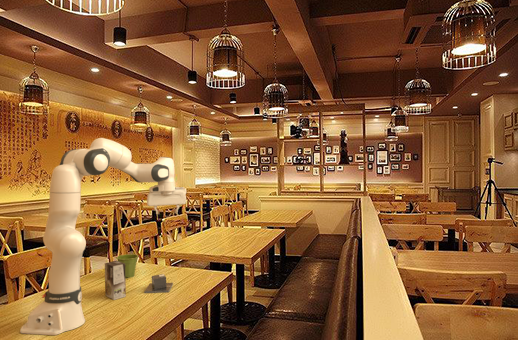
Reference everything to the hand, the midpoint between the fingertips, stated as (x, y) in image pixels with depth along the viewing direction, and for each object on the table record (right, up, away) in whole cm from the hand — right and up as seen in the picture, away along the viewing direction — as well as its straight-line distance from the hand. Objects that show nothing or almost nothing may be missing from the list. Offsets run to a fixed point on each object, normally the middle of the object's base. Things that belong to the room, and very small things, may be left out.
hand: (167, 213), depth 199 cm
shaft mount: (-2, -38, -7) cm, 38 cm away
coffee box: (-21, -38, -17) cm, 47 cm away
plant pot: (-26, -37, +14) cm, 48 cm away
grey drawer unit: (-2, -36, -7) cm, 37 cm away
